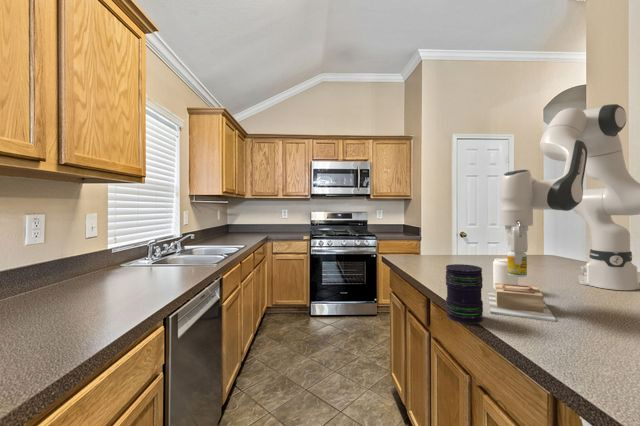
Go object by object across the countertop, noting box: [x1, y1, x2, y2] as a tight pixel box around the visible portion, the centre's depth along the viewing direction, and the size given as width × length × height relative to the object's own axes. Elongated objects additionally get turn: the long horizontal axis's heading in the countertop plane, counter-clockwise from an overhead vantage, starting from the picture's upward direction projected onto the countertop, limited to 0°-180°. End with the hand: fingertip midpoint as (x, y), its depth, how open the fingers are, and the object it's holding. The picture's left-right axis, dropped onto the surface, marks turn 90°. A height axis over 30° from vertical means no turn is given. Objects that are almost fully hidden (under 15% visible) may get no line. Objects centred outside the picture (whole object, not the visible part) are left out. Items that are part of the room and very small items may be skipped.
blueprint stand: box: [487, 283, 556, 322], centre depth 98 cm, size 22×16×6 cm
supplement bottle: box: [506, 245, 528, 278], centre depth 98 cm, size 5×5×10 cm
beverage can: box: [492, 257, 519, 290], centre depth 116 cm, size 8×8×12 cm
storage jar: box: [445, 263, 484, 325], centre depth 89 cm, size 10×10×15 cm
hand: (516, 262), depth 98 cm, fingers closed on supplement bottle, 5 cm apart
